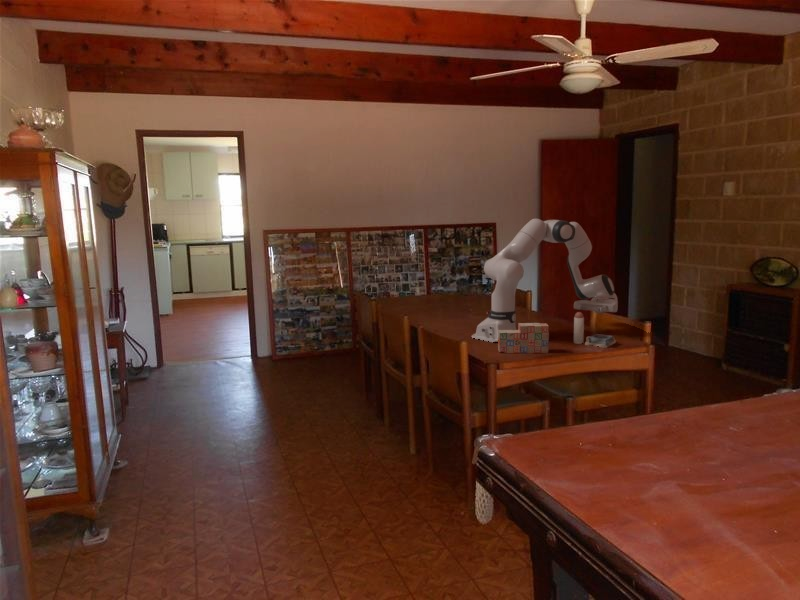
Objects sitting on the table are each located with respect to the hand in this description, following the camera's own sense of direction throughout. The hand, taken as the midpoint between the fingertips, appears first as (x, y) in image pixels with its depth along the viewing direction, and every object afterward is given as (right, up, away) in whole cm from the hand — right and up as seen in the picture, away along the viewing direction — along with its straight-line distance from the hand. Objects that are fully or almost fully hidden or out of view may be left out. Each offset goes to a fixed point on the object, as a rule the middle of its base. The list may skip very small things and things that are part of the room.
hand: (589, 308), depth 283 cm
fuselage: (-8, -16, -8) cm, 19 cm away
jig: (+2, -16, -10) cm, 19 cm away
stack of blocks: (-36, -19, -20) cm, 45 cm away
